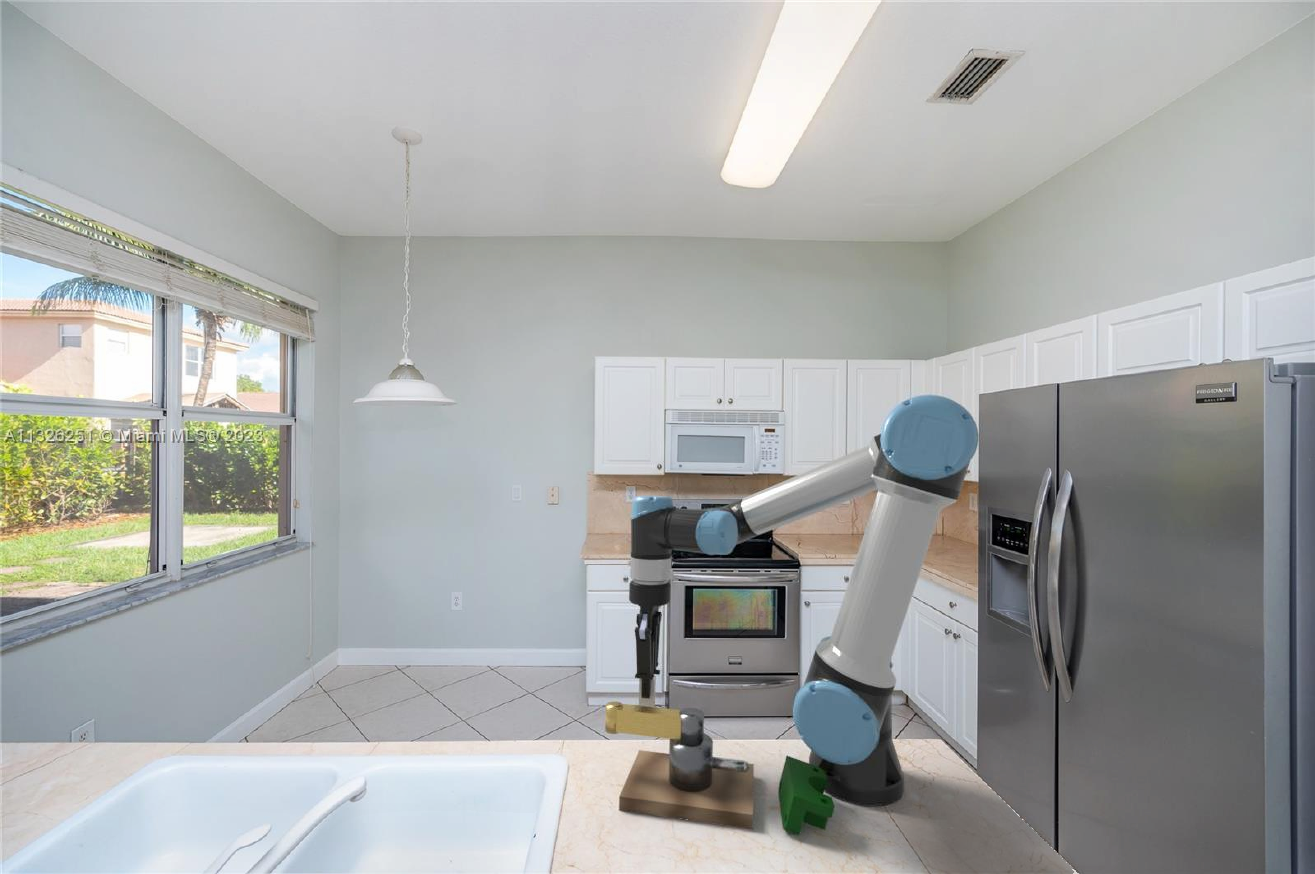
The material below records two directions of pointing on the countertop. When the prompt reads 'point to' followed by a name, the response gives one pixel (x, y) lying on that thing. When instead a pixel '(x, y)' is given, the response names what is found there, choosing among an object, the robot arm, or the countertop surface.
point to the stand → (688, 794)
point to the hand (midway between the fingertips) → (646, 713)
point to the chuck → (697, 765)
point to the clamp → (803, 796)
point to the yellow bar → (656, 722)
